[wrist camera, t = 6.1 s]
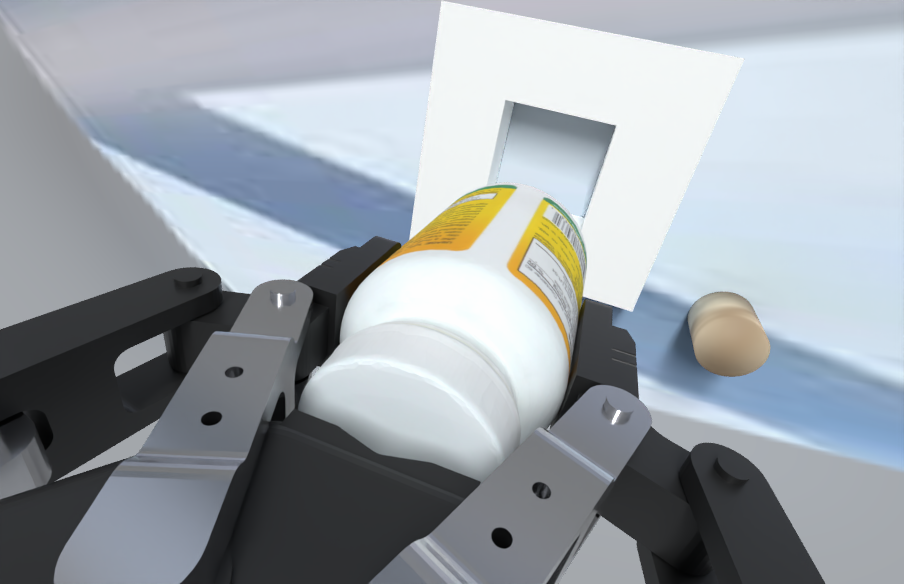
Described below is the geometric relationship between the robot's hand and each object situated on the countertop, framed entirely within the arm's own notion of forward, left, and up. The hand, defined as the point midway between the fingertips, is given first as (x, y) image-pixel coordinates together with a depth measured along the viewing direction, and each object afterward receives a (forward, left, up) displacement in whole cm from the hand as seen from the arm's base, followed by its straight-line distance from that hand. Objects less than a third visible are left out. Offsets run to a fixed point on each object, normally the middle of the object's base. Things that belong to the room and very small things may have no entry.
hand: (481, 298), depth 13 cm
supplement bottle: (0, 0, -4) cm, 4 cm away
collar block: (+1, 0, -20) cm, 20 cm away
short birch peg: (-13, +8, -20) cm, 25 cm away
